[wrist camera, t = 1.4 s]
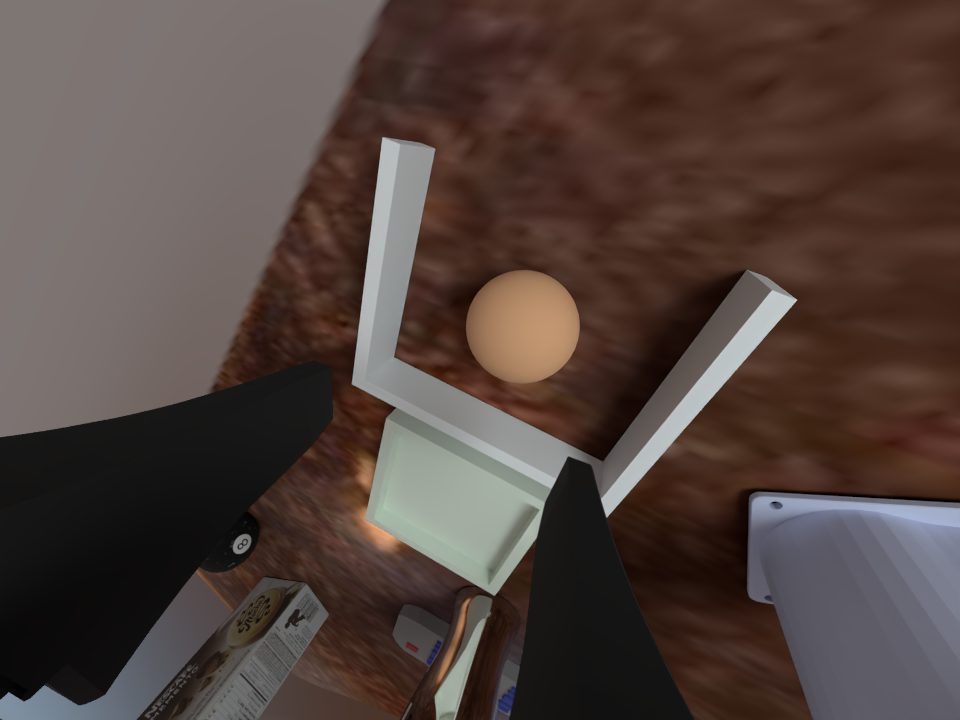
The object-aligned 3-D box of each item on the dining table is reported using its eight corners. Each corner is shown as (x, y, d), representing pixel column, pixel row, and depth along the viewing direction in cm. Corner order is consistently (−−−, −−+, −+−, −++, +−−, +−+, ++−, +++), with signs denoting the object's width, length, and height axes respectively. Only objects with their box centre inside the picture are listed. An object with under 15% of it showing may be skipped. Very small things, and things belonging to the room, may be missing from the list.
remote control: (580, 734, 38) (577, 763, 36) (397, 624, 41) (386, 645, 40) (615, 715, 34) (614, 746, 32) (408, 594, 37) (396, 616, 35)
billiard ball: (221, 497, 42) (167, 540, 37) (254, 501, 39) (199, 549, 34) (246, 533, 44) (198, 579, 39) (278, 540, 42) (231, 589, 37)
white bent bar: (420, 142, 16) (382, 137, 14) (767, 277, 14) (797, 300, 11) (381, 361, 23) (351, 384, 21) (609, 476, 21) (606, 517, 18)
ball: (576, 249, 16) (558, 275, 12) (592, 349, 18) (581, 402, 14) (477, 270, 18) (432, 299, 14) (500, 358, 20) (466, 406, 16)
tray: (400, 403, 24) (386, 418, 23) (561, 488, 23) (557, 508, 21) (377, 503, 31) (365, 519, 29) (501, 575, 29) (494, 595, 28)
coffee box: (288, 605, 50) (165, 762, 37) (263, 574, 48) (124, 727, 35) (331, 615, 46) (210, 795, 33) (306, 581, 44) (166, 758, 31)
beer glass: (439, 584, 33) (324, 831, 21) (497, 580, 29) (401, 876, 17) (479, 633, 34) (395, 892, 22) (540, 635, 31) (480, 946, 18)
